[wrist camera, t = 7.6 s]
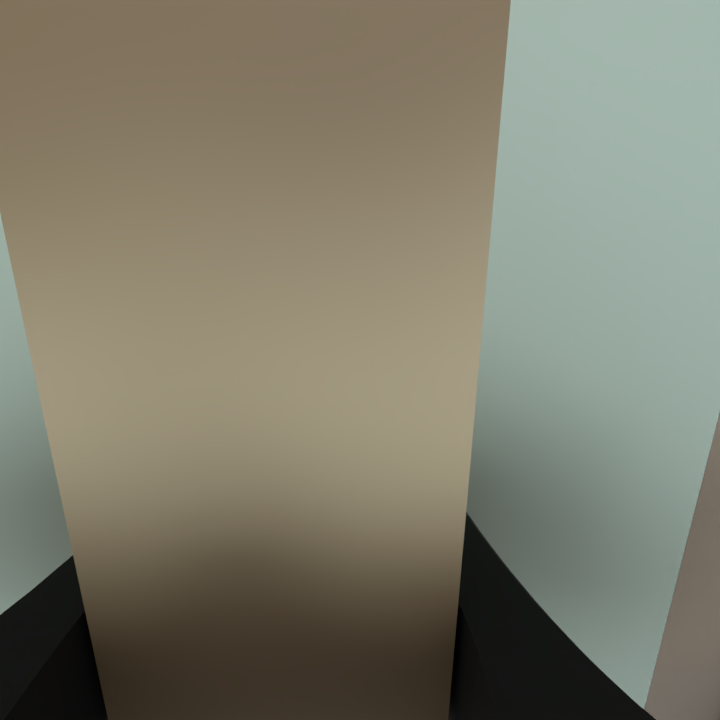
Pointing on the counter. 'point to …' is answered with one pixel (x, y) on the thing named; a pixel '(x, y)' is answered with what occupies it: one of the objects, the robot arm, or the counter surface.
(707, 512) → the counter surface
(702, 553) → the counter surface
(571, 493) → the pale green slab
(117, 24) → the oak bar
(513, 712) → the robot arm
